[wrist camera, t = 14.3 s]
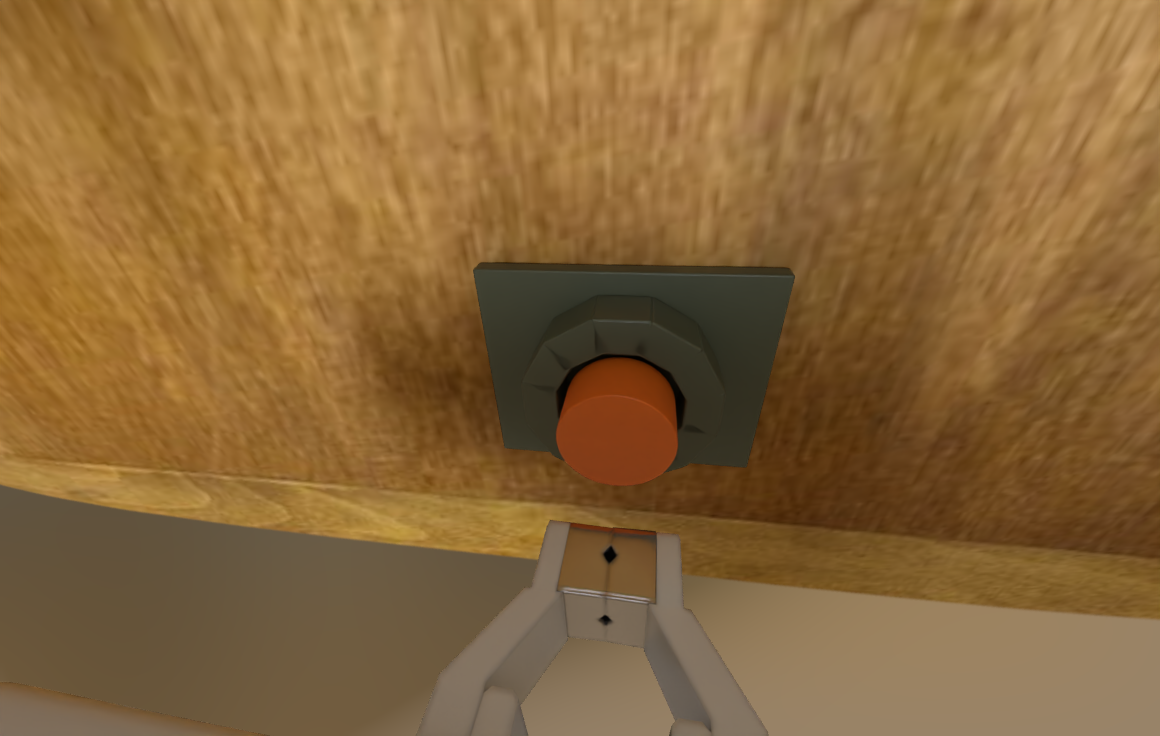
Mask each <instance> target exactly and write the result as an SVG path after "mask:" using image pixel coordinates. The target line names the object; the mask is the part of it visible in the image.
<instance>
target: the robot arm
mask: <svg viewBox="0 0 1160 736" xmlns="http://www.w3.org/2000/svg"><path fill="white" fill-rule="evenodd" d="M683 604H684V603H683V584H682V563H681V543H680V537H679V535H678V534H670V533H659V532H657V533H656V531H647V530H636V529H625V528H615V527H613V528H609V527H601V526H593V525H585V524H577V523H571V522H562V521H553V520H550V521H549V523H548V525H547V528H546V532H545V536H544V539H543V543H542V547H541V551H540V555H539V559H538V563H537V567H536V570H535V574H534V578H533V582H532V586H531V588H530V587H524V588H523V589H522V590H521V591H520V592H519V593H518V594H517V595H516V596H515V597H514V598H513V599H512V600H511V602H509V603H508V604H507V606H506V607H505V608H504V609H503V610H502V611H501V612H500V613H499V614H498V615H497V616H496V617H495V618H494V619H493V620H492V621H491V622H490V623H489V624H488V625H487V626H486V627H485V628H484V629H483V630H482V631H481V632H480V633H479V634H478V635H477V636H476V637H475V638H474V639H473V640H472V641H471V642H470V643H469V644H468V645H467V646H466V647H465V648H464V649H463V650H462V651H461V652H460V653H459V654H458V655H457V656H456V657H455V659H454V660H453V661H452V662H451V663H450V664H449V665H448V666H447V667H446V668H445V669H444V670H443V671H442V672H441V673H440V674H439V676H438V679H437V682H436V684H435V687H434V689H433V692H432V695H431V697H430V700H429V703H428V705H427V708H426V710H425V713H424V716H423V718H422V721H421V724H420V726H419V729H418V731H417V734H416V736H528V733H527V729H526V725H525V722H524V718H523V715H522V710H521V707H520V705H521V704H522V702H523V701H524V700H525V698H526V697H527V696H528V694H529V693H530V691H531V690H532V689H533V687H534V686H535V685H536V683H537V682H538V680H539V679H540V678H541V676H542V675H543V673H544V672H545V671H546V669H547V668H548V667H549V665H550V664H551V662H552V661H553V660H554V658H555V657H556V655H557V654H558V653H559V651H560V650H561V649H562V647H563V646H564V644H565V643H566V642H567V640H568V638H567V637H572V638H580V639H589V640H597V641H605V642H611V643H617V644H622V645H628V646H633V647H639V648H644V652H645V654H646V656H647V659H648V661H649V663H650V665H651V668H652V670H653V672H654V674H655V676H656V679H657V681H658V683H659V685H660V687H661V690H662V692H663V694H664V697H665V699H666V701H667V703H668V706H669V708H670V710H671V712H672V714H673V717H674V719H675V722H674V723H673V725H672V726H671V730H670V735H669V736H768V732H767V730H766V728H765V727H764V725H763V723H762V722H761V720H760V719H759V717H758V716H757V714H756V712H755V711H754V709H753V708H752V706H751V704H750V703H749V701H748V700H747V698H746V696H745V695H744V693H743V692H742V690H741V689H740V687H739V685H738V684H737V682H736V680H735V679H734V677H733V676H732V674H731V673H730V671H729V669H728V668H727V666H726V665H725V663H724V661H723V660H722V658H721V657H720V655H719V653H718V652H717V650H716V649H715V647H714V646H713V644H712V642H711V641H710V639H709V638H708V636H707V634H706V633H705V631H704V630H703V628H702V627H701V625H700V624H699V622H698V620H697V619H696V617H695V615H694V614H693V612H692V611H691V610H690V609H685V608H684V605H683ZM0 736H268V735H263V734H259V733H254V732H249V731H244V730H239V729H235V728H230V727H225V726H220V725H215V724H211V723H206V722H201V721H196V720H191V719H187V718H182V717H177V716H172V715H168V714H163V713H158V712H153V711H148V710H143V709H139V708H133V707H129V706H124V705H120V704H115V703H110V702H105V701H100V700H95V699H91V698H86V697H81V696H76V695H71V694H67V693H62V692H57V691H52V690H47V689H43V688H38V687H34V686H29V685H24V684H19V683H13V682H0Z"/></svg>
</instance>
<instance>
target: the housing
mask: <svg viewBox="0 0 1160 736" xmlns="http://www.w3.org/2000/svg"><path fill="white" fill-rule="evenodd" d="M473 272H474V278H475V283H476V289H477V295H478V300H479V306H480V312H481V317H482V323H483V328H484V334H485V340H486V345H487V351H488V357H489V362H490V368H491V373H492V379H493V385H494V390H495V396H496V401H497V407H498V413H499V418H500V424H501V430H502V435H503V441H504V446H505V448H509V449H522V450H534V451H547V452H551V454H552V455H554V456H555V457H557V458H559V459H561V460H563V461H565V460H564V458H563V457H562V455H561V453H560V451H559V449H558V446H557V441H556V430H557V425H558V422H559V418H560V415H561V412H562V408H563V405H564V401H565V398H566V394H567V391H568V388H569V385H570V383H571V381H572V379H573V378H574V376H575V375H576V374H577V373H578V372H579V371H580V370H581V369H583V368H584V367H585V366H587V365H589V364H591V363H592V362H595V361H598V360H601V359H605V358H612V357H624V358H631V359H636V360H639V361H642V362H644V363H646V364H648V365H650V366H652V367H653V368H655V369H656V370H658V371H659V372H660V373H661V374H662V375H663V376H664V377H665V378H666V379H667V381H668V382H669V383H670V385H671V387H672V389H673V392H674V396H675V404H676V419H677V434H678V449H677V454H676V456H675V459H674V460H673V462H672V464H671V465H670V466H669V468H668V469H667V470H666V471H665V472H669V471H672V470H675V469H679V468H682V467H684V466H687V465H688V464H689V463H695V464H708V465H720V466H732V467H747V464H748V460H749V456H750V452H751V448H752V444H753V440H754V436H755V432H756V428H757V424H758V420H759V416H760V413H761V409H762V405H763V401H764V397H765V393H766V389H767V385H768V381H769V377H770V373H771V369H772V365H773V361H774V357H775V354H776V350H777V346H778V342H779V338H780V334H781V330H782V326H783V322H784V318H785V314H786V310H787V306H788V302H789V298H790V295H791V291H792V287H793V283H794V279H795V275H794V274H793V273H792V271H791V270H790V269H789V268H749V267H690V266H632V265H573V264H515V263H479V264H478V265H477V266H476V267H475V268H474V270H473ZM565 462H566V461H565ZM665 472H663V473H665Z"/></svg>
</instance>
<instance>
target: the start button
mask: <svg viewBox="0 0 1160 736" xmlns="http://www.w3.org/2000/svg"><path fill="white" fill-rule="evenodd" d="M556 441H557V446H558V449H559V451H560V453H561V455H562V457H563V458H564V460H565V461H566V462H567V463H568V465H569V466H570V467H571V468H573V469H574V470H575V471H576V472H578V473H579V474H581V475H583V476H584V477H586V478H588V479H591V480H593V481H596V482H599V483H603V484H607V485H614V486H630V485H637V484H641V483H645V482H648V481H650V480H652V479H654V478H656V477H658V476H659V475H661V474H662V473H663V472H665V471H666V470H667V469H668V468H669V466H670V465H671V464H672V462H673V460H674V459H675V456H676V454H677V449H678V434H677V419H676V404H675V396H674V392H673V389H672V387H671V385H670V383H669V382H668V381H667V379H666V378H665V377H664V376H663V375H662V374H661V373H660V372H659V371H658V370H656V369H655V368H653V367H652V366H650V365H648V364H646V363H644V362H642V361H639V360H636V359H631V358H624V357H612V358H605V359H601V360H598V361H595V362H592V363H591V364H589V365H587V366H585V367H584V368H583V369H581V370H580V371H579V372H578V373H577V374H576V375H575V376H574V378H573V379H572V381H571V383H570V385H569V388H568V391H567V394H566V398H565V401H564V405H563V408H562V412H561V415H560V418H559V422H558V425H557V430H556Z"/></svg>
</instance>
